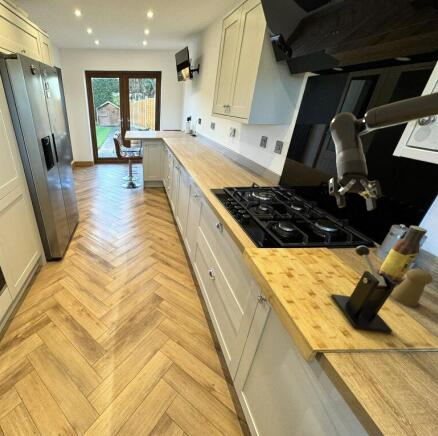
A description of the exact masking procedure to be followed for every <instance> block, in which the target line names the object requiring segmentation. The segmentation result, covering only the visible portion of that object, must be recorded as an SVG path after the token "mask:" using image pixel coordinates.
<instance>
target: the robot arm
mask: <svg viewBox="0 0 438 436" xmlns="http://www.w3.org/2000/svg"><path fill="white" fill-rule="evenodd" d="M434 116H438V91H435V92H432V93H429V94H424V95H419V96H416V97H411V98H407V99H402V100H399V101H395V102H391V103H387V104H384V105H380V106H376V107H373V108H371V109H368V111H366V113H365V114H364V117H361V118H359V119H357V118H356V116H355V115H354V114H353V113H351V112H347V111H345V112H340V113H338V114H336V115H335V116H334V117H333V118H332V120H331V121H330V124H329V130H330V133H331V137H332V140H333V142H334V145H335V155H336V158H335V159H336V161H335V162H336V169H337V170H336V171H337V176H333V177H332V178H331V179H329V180H328V194H329V196H333V197H335V199H336V205H337V206H338V208H339V209H343V208H345V207H346V206H347V202H346V196H345V193H346V192H347V193H354V194H359V196H361V197H363V198H364V199H365V204H366V209H367V211H368V212H372V211H374V210H376V208H377V202H376V200H377V199H379V198H381V197H383V193H382V188H381V186H380V185H381V184H380V182H379V180H378V179H375V180H372V181H371V180H369V179H368V178H367V177H368V168H367V163H366V162H367V161H366V157H365V156H366V155H365V153H364V149H363V144H362V140H361V138H360V136H363V135H366V134H368V133H370V132H372V131H374V130H379V129H384V128H389V127H393V126H394V127H395V126H397V125H402V124H406V123H410V122H413V121H418V120H421V119H425V118H430V117H434ZM339 186H340V189H339Z"/></svg>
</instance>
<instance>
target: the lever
mask: <svg viewBox="0 0 438 436" xmlns="http://www.w3.org/2000/svg"><path fill="white" fill-rule="evenodd" d="M354 251H355V253H356V255H358V256H359V257H361V258H362V260H363V262H364V264H365V266H366V267H365V268H366V270H367V271H369V272H370V273H371V274H372V275H373V276H374V277H375V278H376V279H377V280H378V281H380V283H379V284H378V286H377V287H376V289H383V288H384V287H386V286H387V284H386V282H385V280H384V278H383V276H379V275H378V274H377V272H376V269H375V267H374V265H373V263H372V261H371V259H370V257H369V255H370V254H371V250H370V248H369V247H368V246H365V245H359V246H357V247H356V248H355V250H354Z"/></svg>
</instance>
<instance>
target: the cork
mask: <svg viewBox="0 0 438 436" xmlns="http://www.w3.org/2000/svg"><path fill="white" fill-rule="evenodd" d="M433 280H434V279H433V276H432V274H431V273H429V272H428V271H426V270H423V269H420V268H409V269H408V270H407V272H406V278H405V279H404V280H402V282H401V283H400V284H399V285H398V286H396V287H395V288H394V289H393V291H392V292H391V294H390V296H391V297H392V298H393V299H394V300H396V301H397V302H399V303H401V304H402V305H405V306H409V307H417V305H418V303H419V301H420V299H421V296H422V294H423V292H424V289H425V288H426V285H429V284H431V283H432V282H433Z"/></svg>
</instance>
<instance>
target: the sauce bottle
mask: <svg viewBox="0 0 438 436" xmlns="http://www.w3.org/2000/svg"><path fill="white" fill-rule="evenodd" d="M407 229H408V230H407V232H406V234H405V235H404V237H402V238H401V239H398V240H397V241H396V242H395V243H394V245H393V246H392V247H391V249H390V251H389V252H388V254H387V256H386V257H385V259H384V261H383V263H382V264H381V266H380V268H379V269H378V273H379V274H380V273H385V274H386V275H387V276H388V277H389V278H391V279H392V280H393V281H394V282H396V281H397V282H399V281H401V280H402V278H404V276H405V275H406V274H407V272H408V271H409V270H410V268H411V266H412V265H413V263H414V262H415V260H416V259H417V257H418V255H419V254H420V244H421V241H422V239H423V237H424V236H425V235H426V234H427V232H428V229H426V228H425V227H424V228H423V227H421V226H418V225H409V228H407Z"/></svg>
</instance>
